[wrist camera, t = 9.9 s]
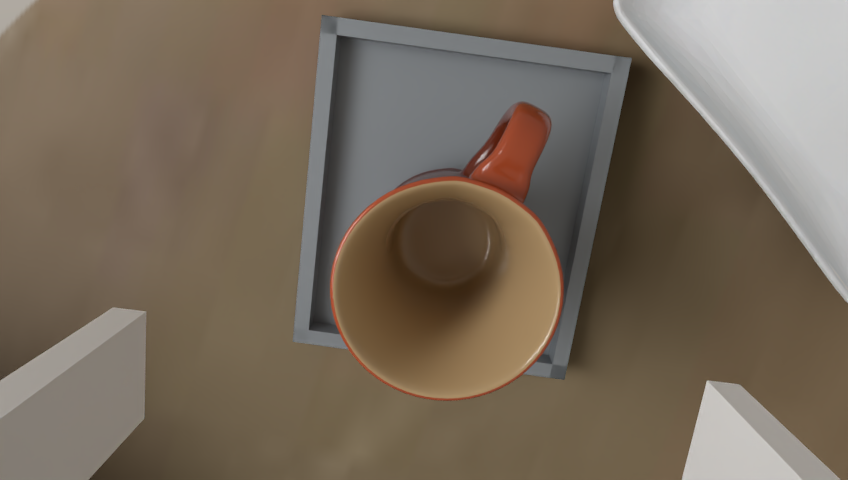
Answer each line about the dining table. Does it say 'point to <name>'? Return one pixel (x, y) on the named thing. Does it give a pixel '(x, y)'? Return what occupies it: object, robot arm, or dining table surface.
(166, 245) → the dining table surface
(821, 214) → the salad plate
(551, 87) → the rest tray
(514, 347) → the mug
